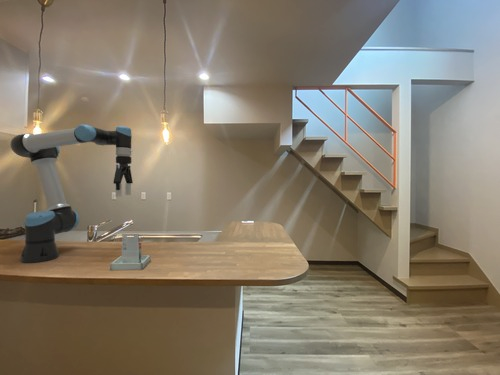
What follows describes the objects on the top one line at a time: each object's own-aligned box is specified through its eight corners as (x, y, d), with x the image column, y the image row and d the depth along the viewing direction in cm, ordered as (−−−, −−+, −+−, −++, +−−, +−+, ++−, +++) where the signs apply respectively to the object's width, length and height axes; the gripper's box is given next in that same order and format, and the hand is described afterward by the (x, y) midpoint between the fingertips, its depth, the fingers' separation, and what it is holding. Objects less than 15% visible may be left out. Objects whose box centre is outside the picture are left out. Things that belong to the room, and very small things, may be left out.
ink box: (124, 262, 127) (124, 232, 127) (141, 262, 128) (141, 232, 127) (121, 265, 124) (121, 234, 123) (138, 265, 124) (139, 234, 124)
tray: (110, 270, 118) (110, 263, 118) (121, 261, 131) (121, 255, 131) (142, 269, 120) (142, 263, 120) (150, 260, 133) (150, 255, 133)
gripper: (122, 154, 130) (122, 197, 131) (138, 158, 155) (138, 194, 155) (106, 153, 129) (106, 197, 130) (125, 157, 154) (124, 194, 155)
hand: (123, 195), depth 143 cm, fingers open, 13 cm apart
